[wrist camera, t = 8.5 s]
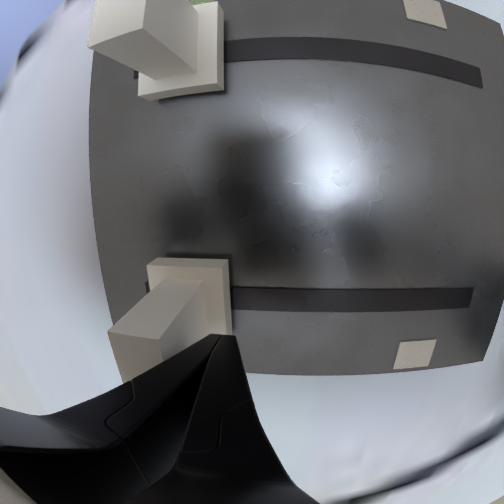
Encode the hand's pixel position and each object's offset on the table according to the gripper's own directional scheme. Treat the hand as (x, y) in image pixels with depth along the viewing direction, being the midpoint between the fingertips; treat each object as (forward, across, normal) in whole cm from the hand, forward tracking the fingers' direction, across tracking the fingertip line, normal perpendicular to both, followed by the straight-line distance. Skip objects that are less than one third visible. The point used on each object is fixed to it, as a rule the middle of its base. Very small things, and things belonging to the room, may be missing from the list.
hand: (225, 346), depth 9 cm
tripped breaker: (+3, +2, 0) cm, 4 cm away
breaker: (+3, +2, -10) cm, 11 cm away
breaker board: (+6, -3, -5) cm, 8 cm away
